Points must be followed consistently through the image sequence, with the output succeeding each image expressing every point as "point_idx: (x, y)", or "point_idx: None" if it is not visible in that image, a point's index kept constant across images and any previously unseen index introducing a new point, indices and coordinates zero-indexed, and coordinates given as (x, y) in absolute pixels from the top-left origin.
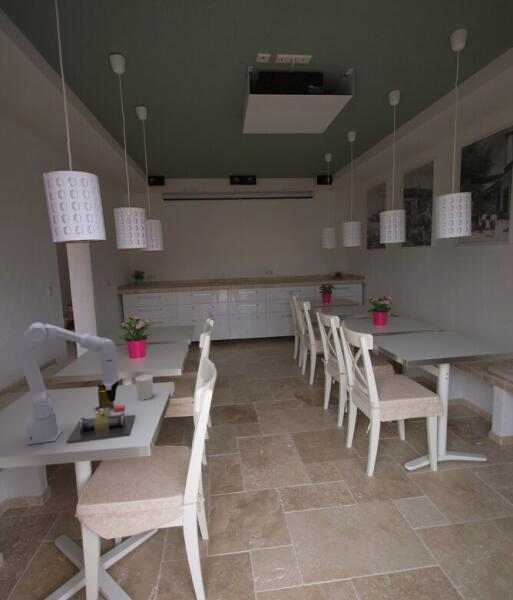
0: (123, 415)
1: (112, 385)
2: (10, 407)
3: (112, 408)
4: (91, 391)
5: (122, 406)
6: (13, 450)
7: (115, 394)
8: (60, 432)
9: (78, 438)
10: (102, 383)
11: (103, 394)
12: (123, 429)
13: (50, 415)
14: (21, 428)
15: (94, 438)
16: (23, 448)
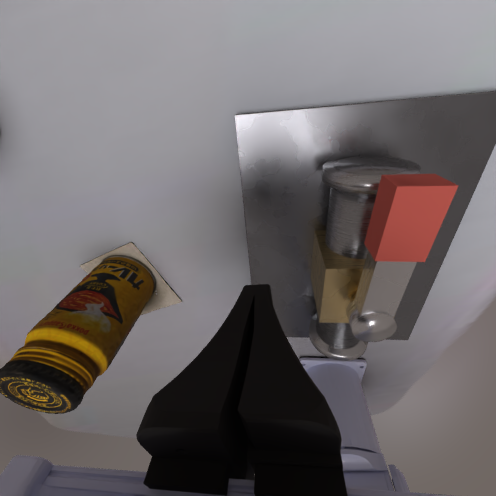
0: (389, 173)
1: (304, 466)
2: None
3: (399, 272)
4: (3, 343)
5: (415, 203)
6: (369, 408)
7: (264, 318)
8: (315, 359)
9: (409, 315)
10: (42, 401)
11: (114, 342)
12: (431, 147)
13: (385, 465)
14: None
15: (437, 265)
16: (369, 398)
